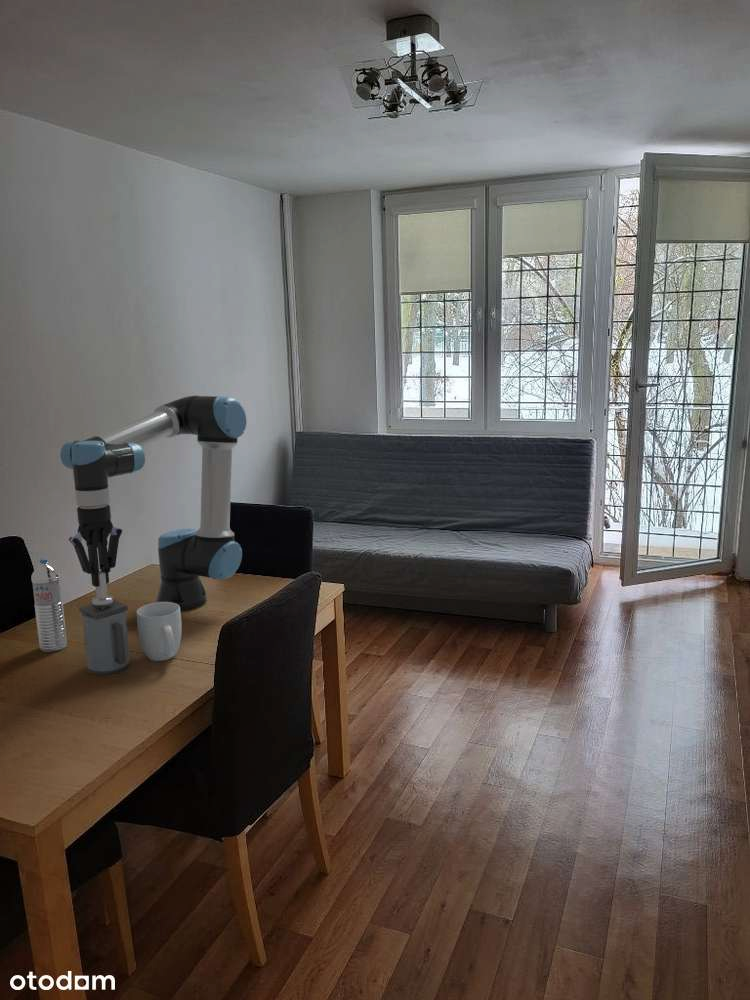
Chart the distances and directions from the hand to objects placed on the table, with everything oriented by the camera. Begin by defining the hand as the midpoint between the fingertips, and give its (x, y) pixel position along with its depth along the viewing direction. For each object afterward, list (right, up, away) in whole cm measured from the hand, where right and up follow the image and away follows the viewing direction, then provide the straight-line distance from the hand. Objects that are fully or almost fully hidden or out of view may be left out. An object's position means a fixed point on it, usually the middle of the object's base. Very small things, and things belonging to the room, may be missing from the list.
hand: (102, 597), depth 183 cm
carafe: (+1, -18, +4) cm, 19 cm away
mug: (+13, -17, +9) cm, 23 cm away
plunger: (0, -16, +4) cm, 16 cm away
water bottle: (-19, -16, +16) cm, 29 cm away
